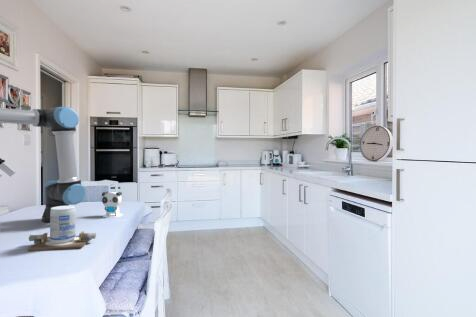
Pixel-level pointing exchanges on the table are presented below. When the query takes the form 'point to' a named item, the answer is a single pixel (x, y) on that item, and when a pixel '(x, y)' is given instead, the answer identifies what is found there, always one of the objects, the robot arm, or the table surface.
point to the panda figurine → (112, 204)
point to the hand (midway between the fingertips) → (6, 175)
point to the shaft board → (45, 244)
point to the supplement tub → (62, 224)
